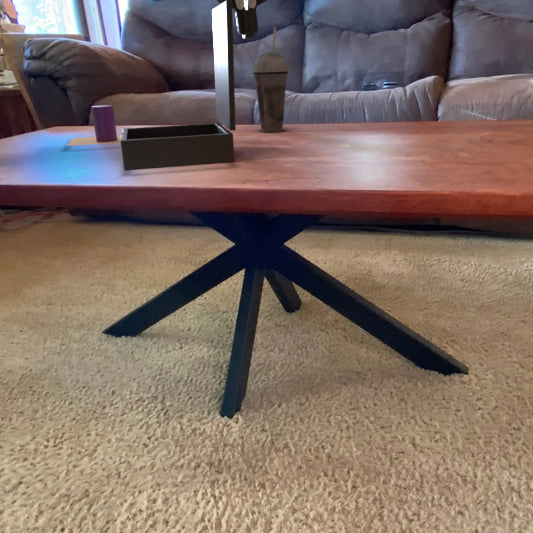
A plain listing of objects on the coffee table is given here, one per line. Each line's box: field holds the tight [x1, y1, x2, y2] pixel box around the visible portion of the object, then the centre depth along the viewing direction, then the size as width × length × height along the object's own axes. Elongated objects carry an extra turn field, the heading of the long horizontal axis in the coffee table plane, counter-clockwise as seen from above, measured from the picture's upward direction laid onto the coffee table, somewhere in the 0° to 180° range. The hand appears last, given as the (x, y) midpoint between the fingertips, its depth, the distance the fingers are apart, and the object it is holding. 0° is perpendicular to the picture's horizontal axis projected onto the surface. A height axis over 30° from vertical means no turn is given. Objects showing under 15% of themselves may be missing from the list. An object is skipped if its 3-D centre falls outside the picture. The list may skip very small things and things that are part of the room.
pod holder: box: [120, 122, 235, 171], centre depth 78 cm, size 16×14×5 cm
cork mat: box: [66, 134, 122, 147], centre depth 100 cm, size 14×14×1 cm
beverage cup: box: [252, 26, 289, 133], centre depth 105 cm, size 7×7×20 cm
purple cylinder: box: [90, 104, 118, 142], centre depth 99 cm, size 4×4×6 cm
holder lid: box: [211, 0, 237, 132], centre depth 76 cm, size 16×14×1 cm
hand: (248, 38), depth 75 cm, fingers closed
